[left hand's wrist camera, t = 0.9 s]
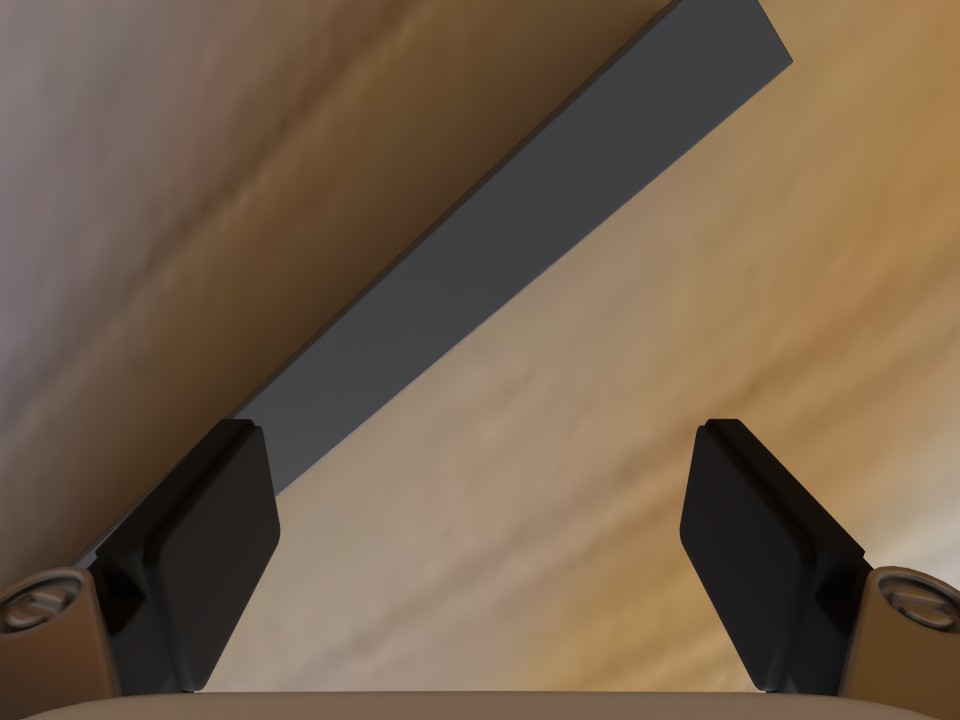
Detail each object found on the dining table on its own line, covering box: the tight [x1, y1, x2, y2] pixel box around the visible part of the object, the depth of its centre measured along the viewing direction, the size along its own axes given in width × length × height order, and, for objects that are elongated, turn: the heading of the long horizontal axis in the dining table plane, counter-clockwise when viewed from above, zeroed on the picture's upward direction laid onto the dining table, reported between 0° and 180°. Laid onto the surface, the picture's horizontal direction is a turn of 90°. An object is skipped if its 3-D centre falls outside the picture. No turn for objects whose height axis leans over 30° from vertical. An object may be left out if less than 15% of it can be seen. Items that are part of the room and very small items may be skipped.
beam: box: [68, 0, 793, 569], centre depth 33 cm, size 73×5×8 cm, turn 132°
